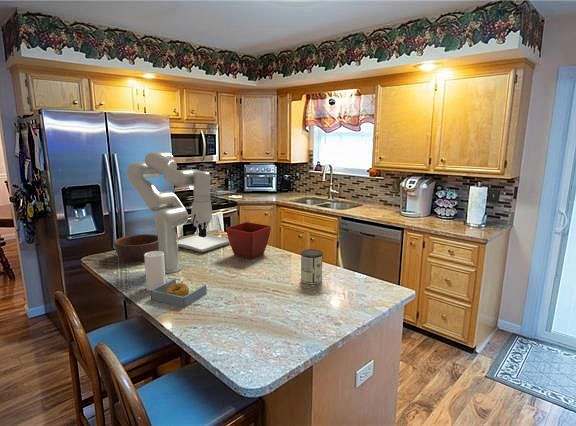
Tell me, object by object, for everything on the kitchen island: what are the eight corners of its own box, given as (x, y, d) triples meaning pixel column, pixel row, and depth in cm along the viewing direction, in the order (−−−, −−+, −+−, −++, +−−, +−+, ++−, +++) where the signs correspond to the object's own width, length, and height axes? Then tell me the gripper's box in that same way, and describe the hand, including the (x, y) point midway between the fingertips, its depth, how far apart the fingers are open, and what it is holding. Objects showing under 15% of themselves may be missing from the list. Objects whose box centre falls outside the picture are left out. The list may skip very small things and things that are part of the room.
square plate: (202, 255, 214) (202, 249, 214) (171, 247, 229) (171, 241, 228) (233, 244, 237) (233, 238, 236) (203, 238, 251) (203, 232, 251)
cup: (169, 285, 169) (167, 252, 166) (157, 292, 162) (155, 257, 158) (154, 282, 172) (152, 250, 169) (142, 289, 164) (140, 255, 161)
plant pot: (252, 262, 202) (251, 232, 199) (225, 256, 212) (225, 228, 209) (271, 253, 218) (271, 225, 215) (246, 248, 228) (246, 221, 225)
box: (150, 299, 154) (150, 290, 153) (174, 286, 167) (174, 278, 167) (184, 307, 147) (183, 297, 146) (206, 293, 160) (206, 284, 160)
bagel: (160, 295, 158) (159, 285, 157) (184, 290, 164) (184, 280, 164) (166, 304, 150) (166, 293, 149) (192, 297, 156) (192, 287, 156)
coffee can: (305, 275, 183) (305, 248, 181) (324, 278, 179) (325, 250, 176) (297, 282, 174) (297, 253, 171) (317, 285, 170) (318, 256, 167)
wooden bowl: (170, 256, 211) (169, 239, 209) (128, 267, 193) (126, 248, 191) (148, 248, 227) (147, 231, 225) (107, 257, 209) (106, 239, 207)
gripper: (205, 195, 177) (206, 231, 181) (184, 199, 164) (185, 239, 168) (218, 197, 174) (218, 234, 178) (197, 201, 161) (198, 241, 165)
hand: (202, 236), depth 173 cm, fingers closed
